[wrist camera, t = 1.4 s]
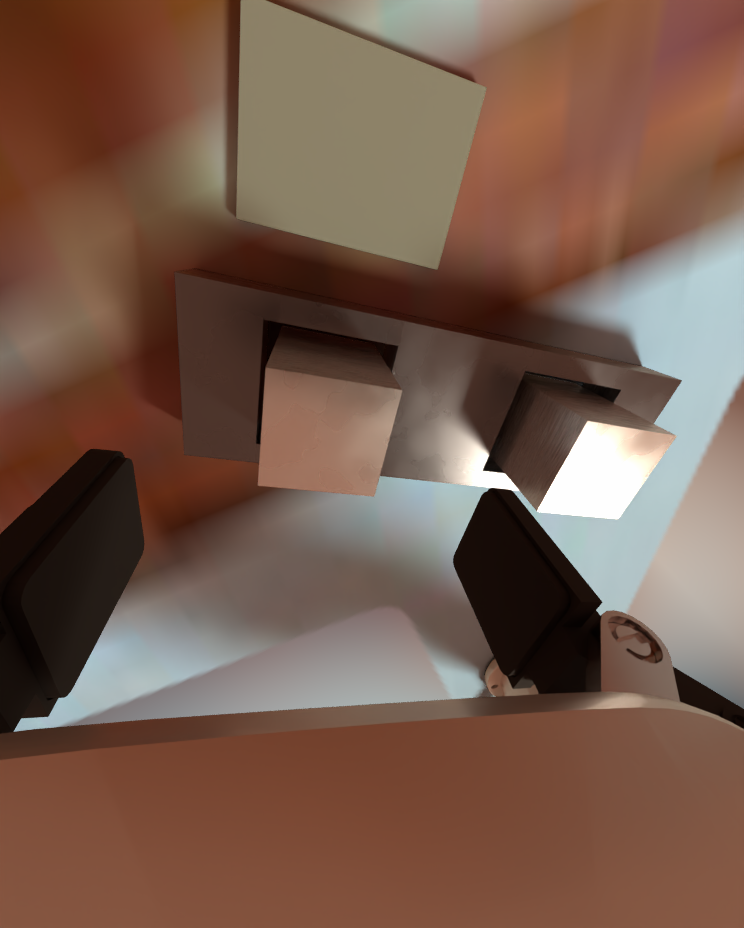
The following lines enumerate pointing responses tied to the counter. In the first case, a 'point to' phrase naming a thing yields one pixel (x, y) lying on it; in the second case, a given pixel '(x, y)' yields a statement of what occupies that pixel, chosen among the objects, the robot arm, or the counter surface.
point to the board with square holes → (407, 356)
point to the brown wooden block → (575, 449)
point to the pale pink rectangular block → (325, 414)
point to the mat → (348, 137)
